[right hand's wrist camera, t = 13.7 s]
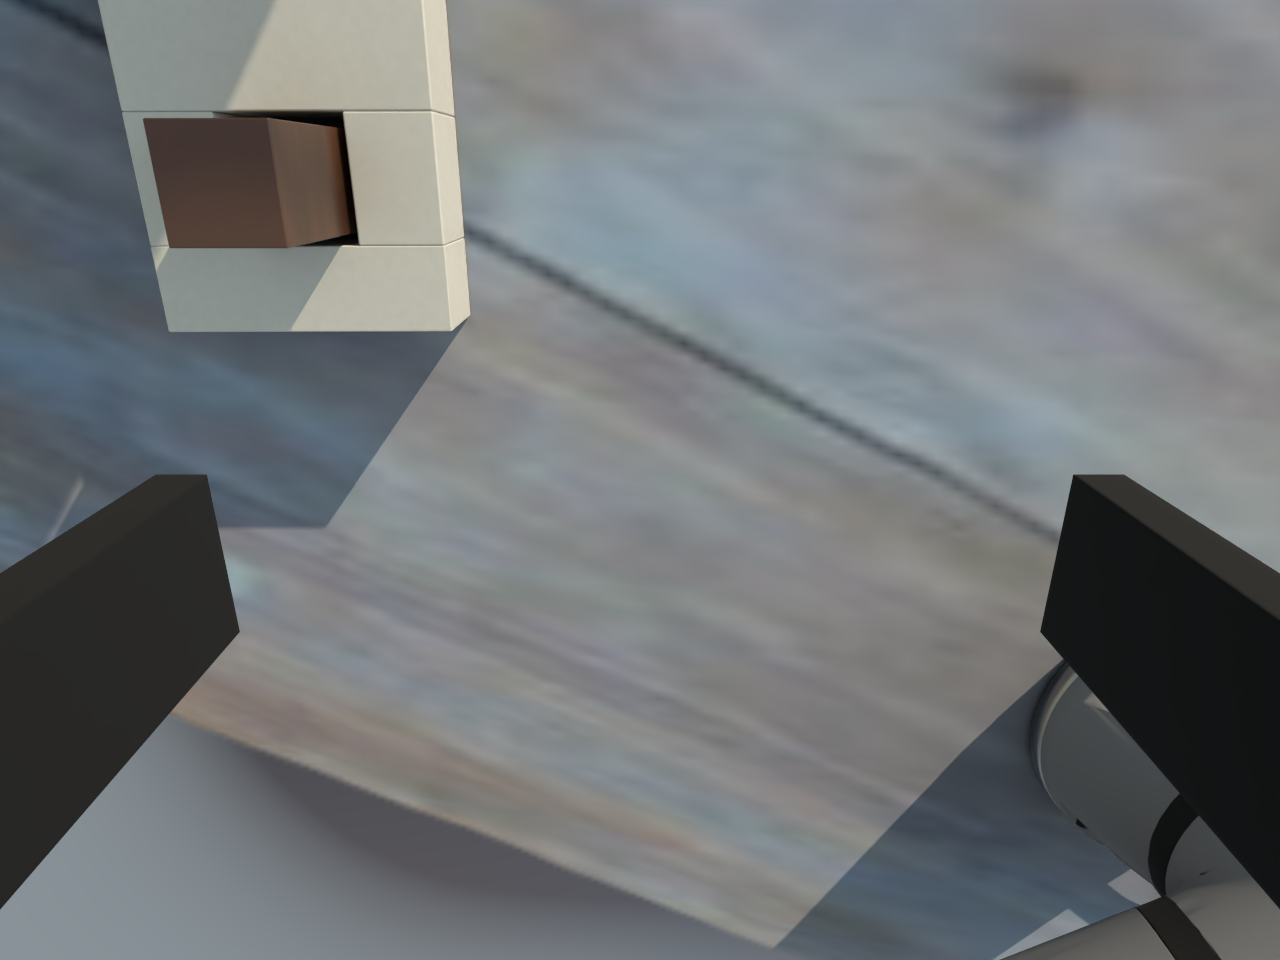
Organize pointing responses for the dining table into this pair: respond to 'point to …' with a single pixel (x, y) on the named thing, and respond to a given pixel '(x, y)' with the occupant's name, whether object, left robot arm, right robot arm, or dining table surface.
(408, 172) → the peg board
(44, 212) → the dining table surface
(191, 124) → the peg
